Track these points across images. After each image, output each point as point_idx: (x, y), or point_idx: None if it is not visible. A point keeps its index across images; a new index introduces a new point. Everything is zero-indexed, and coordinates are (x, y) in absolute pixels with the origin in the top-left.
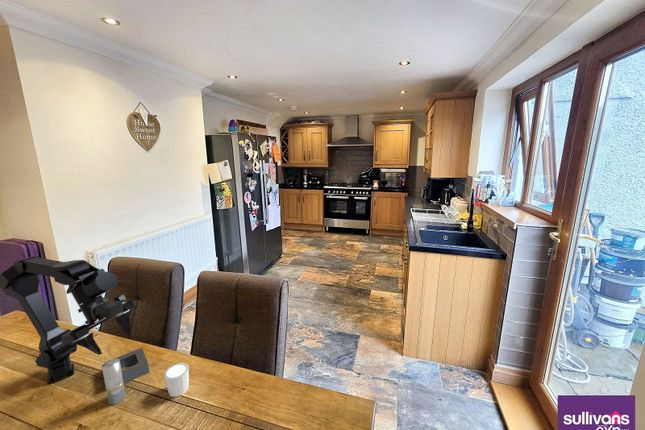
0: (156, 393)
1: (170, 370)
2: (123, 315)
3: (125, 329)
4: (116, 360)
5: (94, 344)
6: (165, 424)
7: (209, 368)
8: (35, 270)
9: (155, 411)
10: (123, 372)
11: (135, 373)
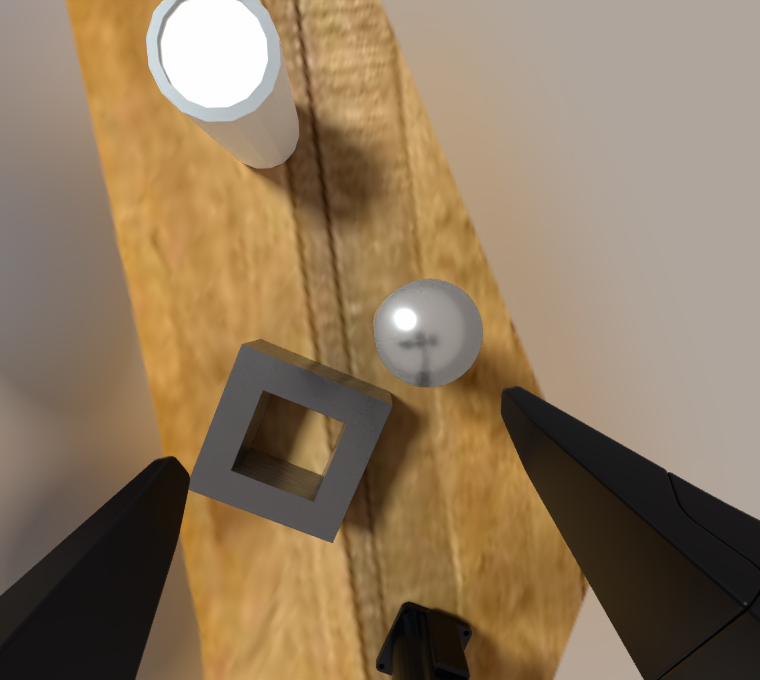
0: (317, 201)
1: (229, 90)
2: None
3: (136, 552)
4: (391, 331)
5: (656, 486)
6: (392, 28)
7: (111, 98)
8: None
9: (372, 121)
10: (331, 394)
11: (300, 362)
